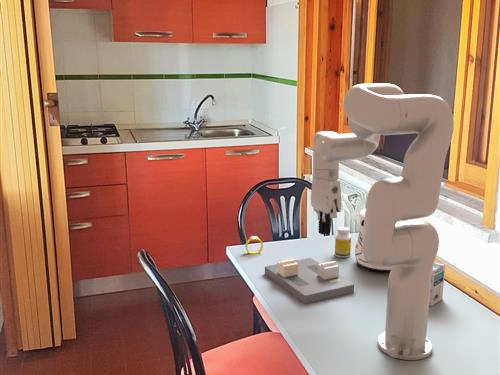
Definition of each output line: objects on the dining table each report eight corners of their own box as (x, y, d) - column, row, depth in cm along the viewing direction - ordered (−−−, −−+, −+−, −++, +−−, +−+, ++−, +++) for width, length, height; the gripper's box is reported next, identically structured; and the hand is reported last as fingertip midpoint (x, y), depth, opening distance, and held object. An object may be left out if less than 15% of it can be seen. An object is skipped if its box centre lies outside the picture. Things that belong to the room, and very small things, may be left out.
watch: (261, 251, 198) (262, 236, 197) (262, 254, 196) (264, 238, 194) (244, 252, 197) (245, 236, 196) (246, 254, 194) (247, 238, 193)
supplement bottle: (351, 258, 191) (352, 231, 189) (335, 258, 192) (336, 231, 189) (349, 252, 197) (350, 226, 194) (333, 252, 197) (334, 226, 194)
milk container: (343, 261, 189) (346, 210, 184) (384, 252, 196) (387, 203, 192) (377, 279, 174) (380, 224, 169) (419, 269, 182) (423, 216, 177)
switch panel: (354, 292, 165) (354, 284, 164) (304, 303, 158) (305, 295, 157) (309, 264, 186) (310, 257, 185) (264, 273, 178) (264, 266, 178)
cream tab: (298, 274, 171) (298, 261, 170) (283, 277, 169) (284, 264, 168) (291, 269, 175) (291, 257, 174) (277, 272, 173) (277, 259, 172)
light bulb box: (443, 299, 160) (446, 263, 158) (432, 306, 156) (435, 270, 153) (408, 288, 168) (411, 254, 165) (397, 295, 163) (400, 260, 160)
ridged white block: (338, 276, 169) (339, 263, 168) (324, 279, 167) (325, 266, 166) (331, 272, 173) (331, 259, 172) (317, 275, 171) (317, 261, 170)
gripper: (351, 177, 160) (349, 238, 164) (322, 168, 173) (321, 225, 177) (329, 179, 157) (328, 242, 161) (301, 170, 170) (300, 228, 174)
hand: (324, 233), depth 169 cm, fingers closed
